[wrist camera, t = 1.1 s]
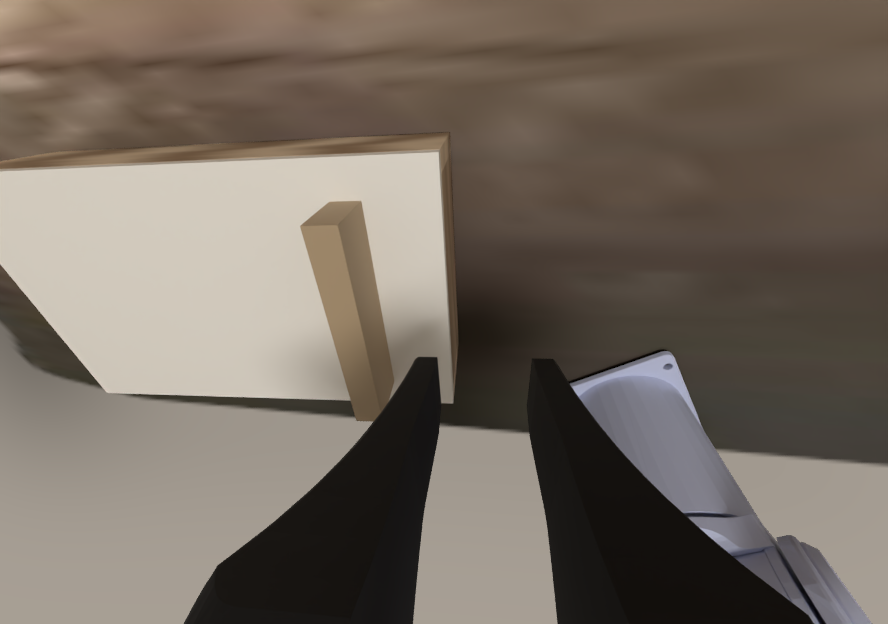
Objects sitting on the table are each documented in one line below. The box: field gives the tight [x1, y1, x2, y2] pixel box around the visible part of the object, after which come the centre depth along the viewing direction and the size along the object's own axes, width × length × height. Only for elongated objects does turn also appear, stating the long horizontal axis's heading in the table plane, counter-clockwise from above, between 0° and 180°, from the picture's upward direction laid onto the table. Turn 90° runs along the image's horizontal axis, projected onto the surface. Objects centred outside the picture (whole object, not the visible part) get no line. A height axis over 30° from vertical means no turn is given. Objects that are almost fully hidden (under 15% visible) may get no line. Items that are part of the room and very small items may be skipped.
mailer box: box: [0, 132, 459, 389], centre depth 18 cm, size 20×12×4 cm, turn 93°
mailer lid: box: [0, 150, 454, 421], centre depth 15 cm, size 20×12×3 cm, turn 93°
